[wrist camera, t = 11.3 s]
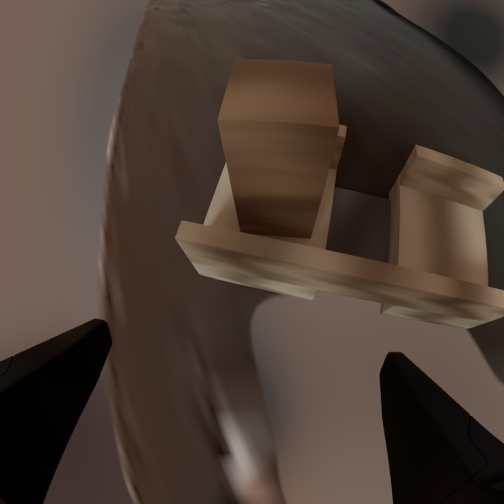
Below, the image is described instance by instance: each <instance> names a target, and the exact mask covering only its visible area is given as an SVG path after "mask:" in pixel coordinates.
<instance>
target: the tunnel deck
mask: <svg viewBox="0 0 504 504" xmlns="http://www.w3.org/2000/svg"><path fill="white" fill-rule="evenodd" d="M345 138H346V126H344V125H339V131H338V135H337V140H336V144H335V148H334V152H333V156H332V160H331V164H330V168H329V172H328V176H327V180H326V184H325V188H324V192H323V195H322V199H321V203H320V207H319V210H318V214H317V218H316V221H315V225H314V229H313V232H312V236H311V239H305V238H293V237H281V236H269V235H256V234H247V233H242V232H240V228H239V223H238V218H237V213H236V208H235V203H234V199H233V194H232V189H231V184H230V179H229V174H228V169H227V164H225V167H224V169H223V172H222V175H221V177H220V180H219V183H218V185H217V188H216V191H215V194H214V196H213V199H212V202H211V205H210V208H209V210H208V213H207V216H206V219H205V222H204V225H202V224H197V223H192V222H187V221H181V223H180V226H179V229H178V232H177V234H176V237H175V239H176V240H177V242H178V243H179V245H180V246H181V248H182V249H183V251H184V252H185V254H186V255H187V257H188V258H189V260H190V261H191V263H192V264H193V266H194V267H195V268H196V270H197V271H198V273H199V274H200V275H203V276H207V277H211V278H215V279H219V280H224V281H228V282H232V283H236V284H241V285H245V286H250V287H254V288H258V289H263V290H267V291H272V292H277V293H281V294H286V295H290V296H295V297H300V298H305V299H309V300H313V298H314V296H315V294H316V293H317V291H318V290H321V291H325V292H330V293H335V294H340V295H345V296H350V297H355V298H360V299H365V300H370V301H375V302H380V303H382V304H381V311H380V313H381V314H385V315H390V316H396V317H401V318H407V319H413V320H418V321H425V322H430V323H436V324H442V325H448V326H454V327H461V328H467V329H468V328H472V327H475V326H478V325H481V324H484V323H487V322H489V321H492V320H495V319H498V318H501V317H503V316H504V290H500V289H496V288H492V287H488V267H487V250H486V239H485V229H484V220H483V213H482V211H483V210H484V209H485V208H487V207H488V206H489V205H490V204H491V203H492V202H493V201H494V200H495V199H496V198H497V197H498V196H499V195H500V194H501V193H502V191H503V190H504V182H503V178H502V177H500V176H498V175H496V174H493V173H491V172H489V171H486V170H484V169H482V168H479V167H477V166H474V165H472V164H469V163H467V162H464V161H461V160H459V159H456V158H453V157H451V156H448V155H445V154H442V153H439V152H437V151H434V150H431V149H428V148H425V147H422V146H418V145H415V147H414V149H413V151H412V153H411V154H410V156H409V158H408V160H407V162H406V164H405V166H404V167H403V169H402V171H401V173H400V175H399V176H398V178H397V180H396V182H395V184H394V185H393V187H392V189H391V191H390V192H389V200H388V199H384V198H380V197H376V196H372V195H368V194H364V193H360V192H356V191H351V190H347V189H343V188H338V187H335V179H336V171H337V167H338V163H339V160H340V156H341V152H342V149H343V145H344V141H345Z"/></svg>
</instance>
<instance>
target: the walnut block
mask: <svg viewBox="0 0 504 504" xmlns="http://www.w3.org/2000/svg"><path fill="white" fill-rule="evenodd" d="M218 124H219V129H220V134H221V139H222V144H223V149H224V154H225V159H226V164H227V169H228V174H229V179H230V184H231V189H232V194H233V199H234V203H235V208H236V213H237V218H238V223H239V228H240V232H242V233H247V234H256V235H269V236H281V237H293V238H305V239H311V236H312V232H313V229H314V225H315V221H316V218H317V214H318V210H319V207H320V203H321V199H322V195H323V192H324V188H325V184H326V180H327V176H328V172H329V168H330V164H331V160H332V156H333V152H334V148H335V144H336V140H337V135H338V131H339V119H338V110H337V102H336V94H335V86H334V79H333V72H332V65H330V64H322V63H312V62H301V61H287V60H263V59H235V62H234V66H233V69H232V72H231V75H230V79H229V82H228V85H227V89H226V92H225V96H224V99H223V102H222V106H221V110H220V113H219V117H218Z"/></svg>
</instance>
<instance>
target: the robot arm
mask: <svg viewBox="0 0 504 504" xmlns="http://www.w3.org/2000/svg"><path fill="white" fill-rule="evenodd" d="M111 346H112V338H111V335H110V331H109V327H108V324H107V322H106V321H105V320H101V319H93V320H91V321H89V322H86V323H84V324H82V325H80V326H78V327H75V328H73V329H71V330H69V331H66V332H64V333H62V334H60V335H58V336H56V337H53V338H51V339H49V340H47V341H45V342H43V343H40V344H38V345H36V346H33V347H31V348H29V349H27V350H25V351H23V352H20V353H18V354H16V355H14V356H11V357H9V358H7V359H5V360H3V361H1V362H0V504H43V502H44V499H45V497H46V494H47V491H48V489H49V486H50V484H51V481H52V479H53V476H54V474H55V471H56V469H57V467H58V464H59V462H60V460H61V457H62V455H63V453H64V450H65V448H66V446H67V444H68V442H69V439H70V437H71V435H72V433H73V431H74V429H75V426H76V424H77V422H78V420H79V418H80V416H81V414H82V412H83V410H84V408H85V406H86V404H87V402H88V400H89V398H90V396H91V394H92V391H93V390H94V388H95V386H96V383H97V381H98V379H99V376H100V374H101V371H102V368H103V366H104V364H105V361H106V359H107V356H108V353H109V351H110V349H111ZM380 390H381V405H382V420H383V427H384V433H385V440H386V446H387V453H388V461H389V469H390V477H391V486H392V495H393V504H504V444H503V443H502V442H501V441H500V440H499V439H497V438H496V437H495V436H493V435H492V434H491V433H490V432H489V431H488V430H486V429H485V428H484V427H483V426H482V425H481V424H480V423H479V422H477V421H476V420H475V419H474V418H473V417H472V416H470V414H469V413H468V412H467V411H466V410H464V409H463V408H462V407H461V406H460V405H459V404H458V403H457V402H456V401H454V399H453V398H451V397H450V396H449V395H448V394H447V393H446V392H445V391H444V390H443V389H442V388H440V387H439V386H438V385H437V384H436V383H435V382H434V381H433V380H432V379H431V378H429V377H428V376H427V375H426V374H425V373H424V372H423V371H421V370H420V369H419V368H418V367H417V366H416V365H415V364H414V363H413V362H412V361H411V360H409V359H408V358H407V357H406V356H405V355H404V354H403V353H401V352H389V353H388V354H387V356H386V358H385V361H384V363H383V366H382V368H381V371H380Z"/></svg>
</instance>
